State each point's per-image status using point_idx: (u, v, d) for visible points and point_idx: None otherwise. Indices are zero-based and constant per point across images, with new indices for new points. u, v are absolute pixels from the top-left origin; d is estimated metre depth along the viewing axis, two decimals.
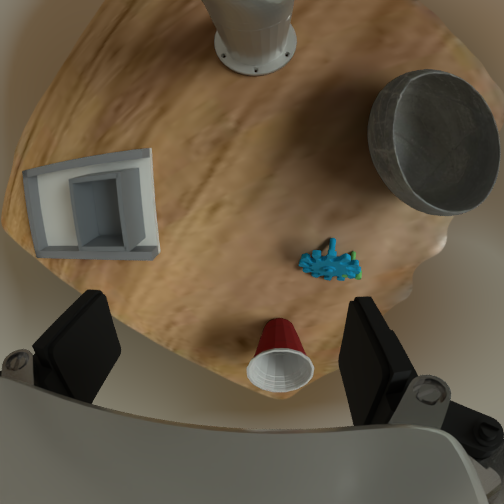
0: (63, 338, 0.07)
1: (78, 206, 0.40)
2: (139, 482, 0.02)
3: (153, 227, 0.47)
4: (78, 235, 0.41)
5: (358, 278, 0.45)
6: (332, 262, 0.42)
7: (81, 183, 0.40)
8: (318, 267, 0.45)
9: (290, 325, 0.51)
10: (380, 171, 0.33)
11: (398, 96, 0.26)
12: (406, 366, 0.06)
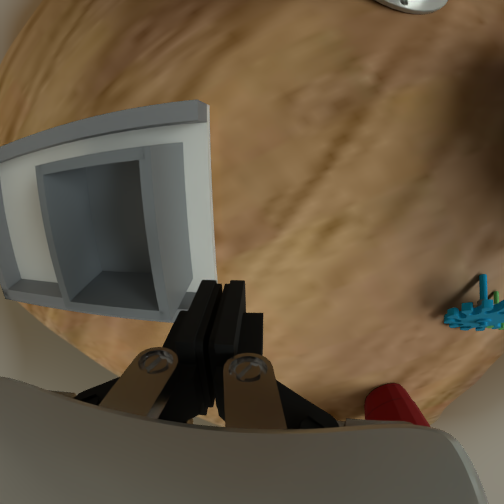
0: None
1: (57, 222, 0.18)
2: (139, 482, 0.02)
3: (209, 260, 0.25)
4: (61, 280, 0.19)
5: (502, 328, 0.24)
6: (497, 314, 0.21)
7: (63, 174, 0.19)
8: (471, 319, 0.23)
9: (406, 393, 0.30)
10: None
11: None
12: (230, 341, 0.07)
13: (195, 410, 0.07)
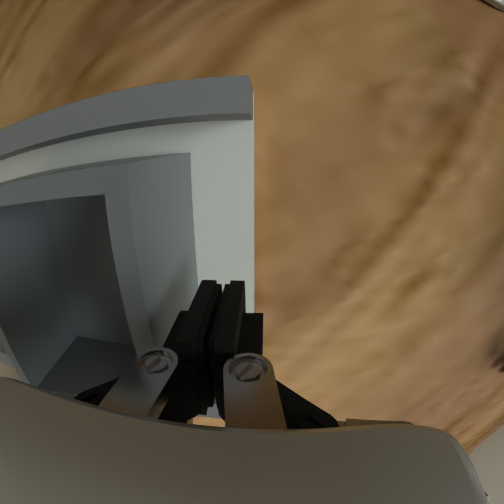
0: None
1: None
2: (139, 482, 0.02)
3: None
4: (17, 365, 0.11)
5: None
6: None
7: (3, 206, 0.10)
8: None
9: None
10: None
11: None
12: (230, 341, 0.07)
13: (195, 410, 0.07)
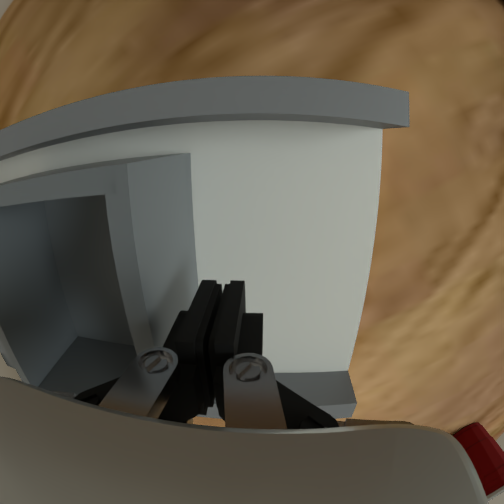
0: None
1: None
2: (139, 482, 0.02)
3: (351, 333, 0.16)
4: (17, 365, 0.11)
5: None
6: None
7: (3, 206, 0.10)
8: None
9: (486, 431, 0.21)
10: None
11: None
12: (230, 341, 0.07)
13: (195, 410, 0.07)
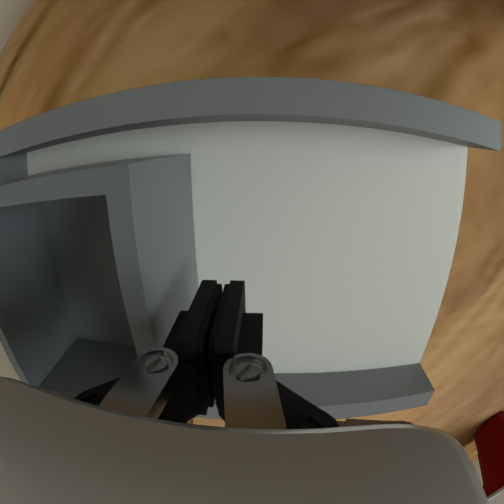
0: None
1: None
2: (139, 482, 0.02)
3: (428, 327, 0.16)
4: (17, 366, 0.11)
5: None
6: None
7: (3, 207, 0.10)
8: None
9: None
10: None
11: None
12: (230, 341, 0.07)
13: (195, 410, 0.07)
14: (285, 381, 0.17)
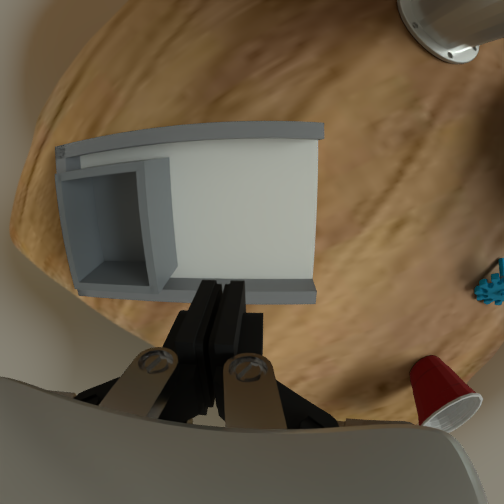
0: None
1: (71, 218, 0.24)
2: (139, 482, 0.02)
3: (311, 251, 0.31)
4: (72, 265, 0.25)
5: None
6: None
7: (75, 181, 0.25)
8: (496, 289, 0.29)
9: (443, 362, 0.35)
10: None
11: None
12: (230, 341, 0.07)
13: (195, 410, 0.07)
14: (221, 281, 0.32)
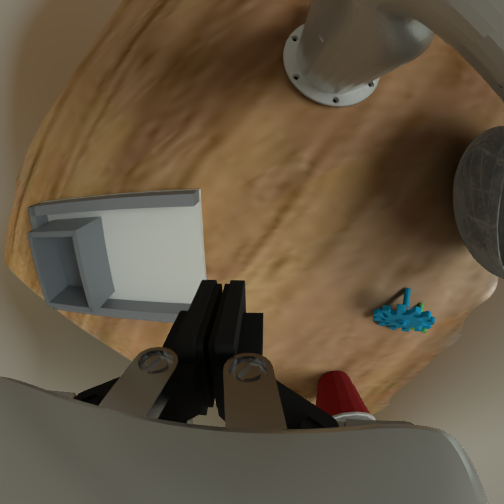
0: None
1: (41, 261, 0.34)
2: (139, 482, 0.02)
3: None
4: (44, 291, 0.35)
5: (423, 331, 0.39)
6: (412, 317, 0.36)
7: None
8: (393, 319, 0.38)
9: (348, 378, 0.45)
10: (470, 238, 0.27)
11: None
12: (230, 341, 0.07)
13: (195, 410, 0.07)
14: (142, 303, 0.41)
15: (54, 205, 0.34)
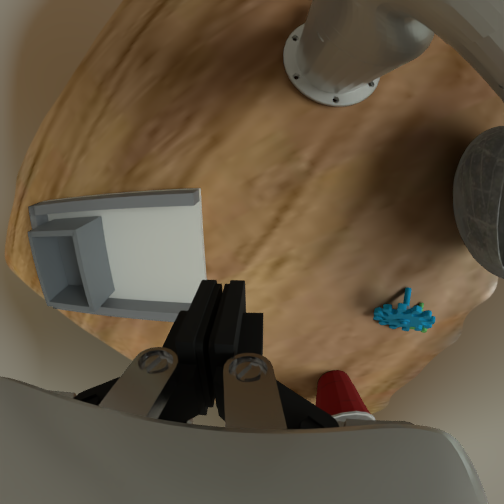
0: None
1: (41, 260, 0.34)
2: (139, 482, 0.02)
3: None
4: (44, 290, 0.35)
5: (423, 331, 0.39)
6: (412, 316, 0.36)
7: None
8: (393, 318, 0.38)
9: (347, 378, 0.45)
10: (470, 238, 0.27)
11: None
12: (230, 341, 0.07)
13: (195, 410, 0.07)
14: (142, 302, 0.41)
15: (54, 204, 0.34)
